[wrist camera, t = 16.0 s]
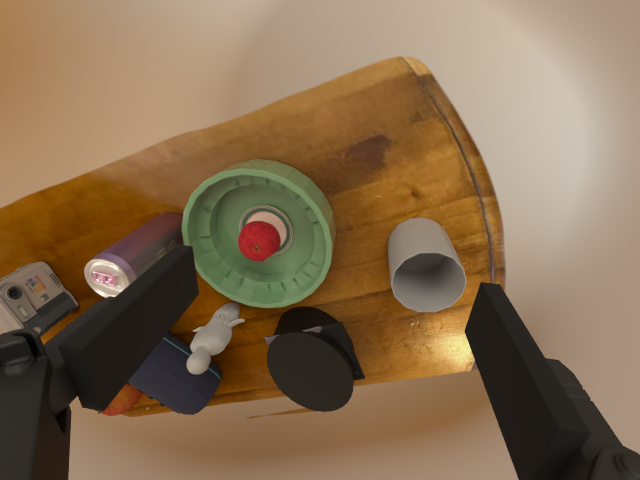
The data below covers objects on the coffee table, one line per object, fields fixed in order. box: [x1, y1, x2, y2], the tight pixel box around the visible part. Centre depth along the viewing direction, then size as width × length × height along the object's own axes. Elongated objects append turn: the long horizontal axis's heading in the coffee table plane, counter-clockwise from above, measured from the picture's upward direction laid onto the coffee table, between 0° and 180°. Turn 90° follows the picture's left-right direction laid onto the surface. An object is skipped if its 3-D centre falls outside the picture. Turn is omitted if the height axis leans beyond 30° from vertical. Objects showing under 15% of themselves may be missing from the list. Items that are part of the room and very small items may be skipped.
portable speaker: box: [126, 332, 222, 415], centre depth 58 cm, size 25×10×10 cm, turn 51°
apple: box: [238, 205, 293, 262], centre depth 45 cm, size 8×8×6 cm
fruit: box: [96, 384, 143, 416], centre depth 64 cm, size 10×10×10 cm
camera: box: [0, 261, 79, 337], centre depth 56 cm, size 11×6×10 cm, turn 15°
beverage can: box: [84, 212, 184, 298], centre depth 45 cm, size 6×6×15 cm
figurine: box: [187, 302, 245, 375], centre depth 50 cm, size 9×4×15 cm, turn 110°
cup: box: [387, 218, 467, 312], centre depth 42 cm, size 8×8×10 cm
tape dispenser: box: [264, 306, 365, 412], centre depth 55 cm, size 14×18×8 cm
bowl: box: [182, 159, 336, 308], centre depth 46 cm, size 21×21×6 cm
